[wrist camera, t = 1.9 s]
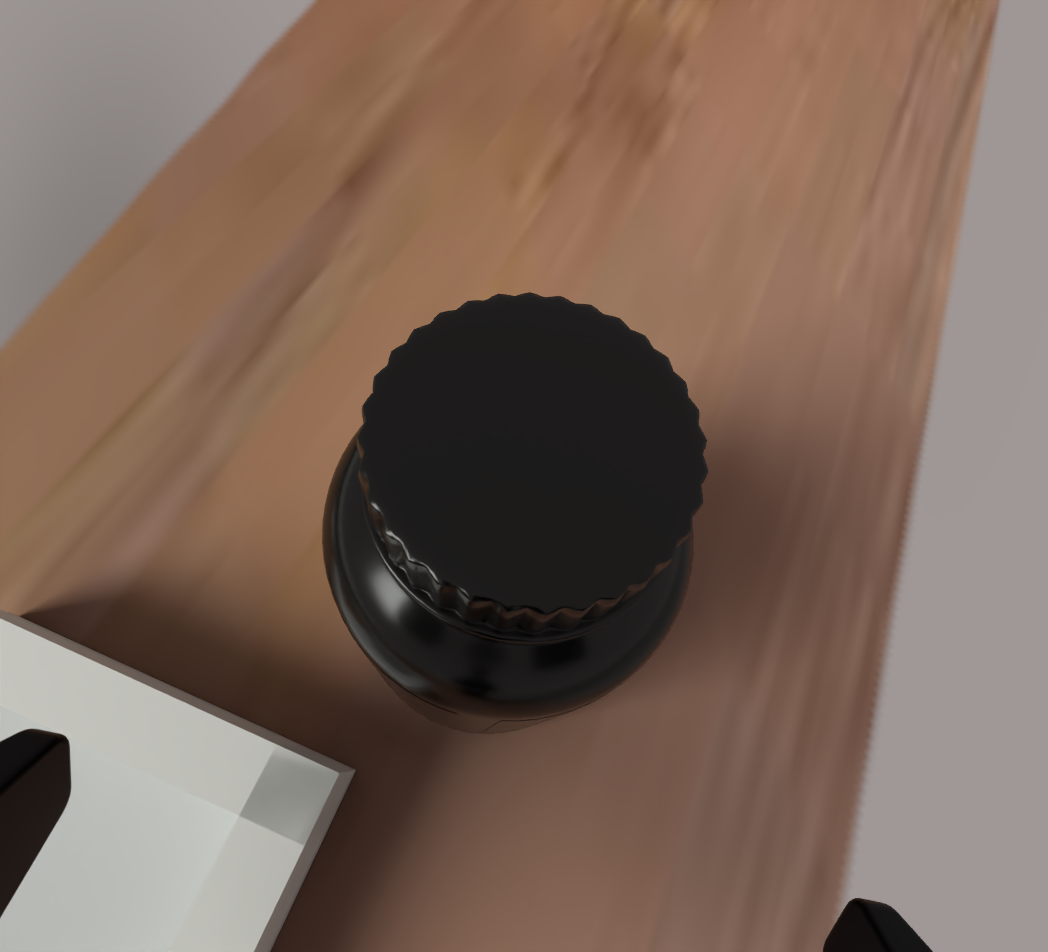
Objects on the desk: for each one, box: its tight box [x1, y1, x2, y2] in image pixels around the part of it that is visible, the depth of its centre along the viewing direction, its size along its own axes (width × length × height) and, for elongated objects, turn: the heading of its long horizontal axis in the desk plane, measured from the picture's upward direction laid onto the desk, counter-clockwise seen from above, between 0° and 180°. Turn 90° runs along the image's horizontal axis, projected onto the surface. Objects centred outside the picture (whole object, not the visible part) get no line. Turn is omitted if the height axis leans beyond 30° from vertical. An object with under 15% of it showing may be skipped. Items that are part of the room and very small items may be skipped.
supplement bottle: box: [322, 292, 708, 734], centre depth 15 cm, size 7×7×12 cm
